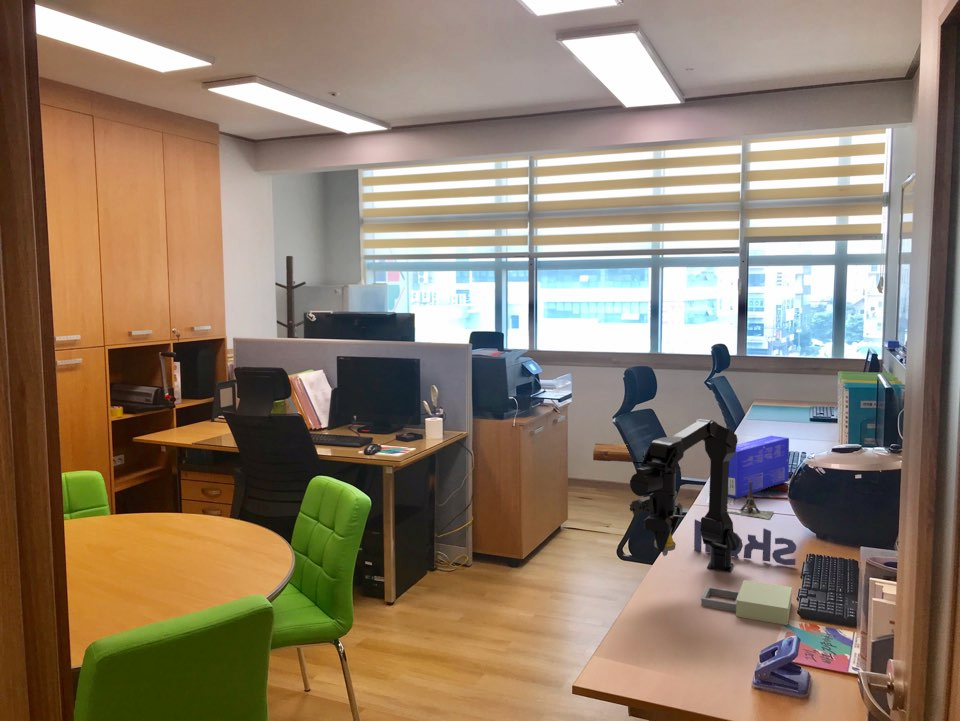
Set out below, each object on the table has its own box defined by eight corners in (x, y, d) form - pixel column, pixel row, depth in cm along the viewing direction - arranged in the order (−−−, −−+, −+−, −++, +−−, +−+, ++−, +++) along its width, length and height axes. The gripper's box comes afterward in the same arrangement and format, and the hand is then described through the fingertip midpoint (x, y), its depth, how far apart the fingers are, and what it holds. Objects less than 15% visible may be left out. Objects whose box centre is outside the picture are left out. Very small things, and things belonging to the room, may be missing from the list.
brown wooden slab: (593, 463, 343) (593, 451, 342) (595, 455, 361) (595, 443, 360) (644, 465, 338) (644, 453, 338) (643, 457, 356) (643, 445, 356)
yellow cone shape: (671, 551, 196) (674, 516, 194) (676, 561, 191) (680, 525, 189) (650, 551, 196) (653, 515, 194) (656, 561, 191) (659, 524, 189)
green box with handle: (708, 589, 195) (709, 574, 194) (791, 602, 186) (791, 587, 186) (699, 609, 182) (699, 593, 182) (787, 625, 173) (787, 608, 173)
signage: (795, 566, 211) (796, 532, 210) (795, 567, 211) (796, 532, 210) (694, 551, 224) (695, 519, 223) (693, 552, 224) (694, 519, 223)
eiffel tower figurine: (724, 514, 263) (725, 477, 262) (730, 507, 272) (730, 471, 270) (769, 520, 255) (770, 482, 254) (773, 512, 264) (774, 475, 263)
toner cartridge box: (770, 478, 312) (771, 435, 310) (789, 482, 305) (790, 437, 304) (717, 494, 287) (718, 447, 285) (736, 499, 281) (737, 451, 279)
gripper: (641, 477, 204) (641, 533, 205) (623, 494, 187) (623, 555, 188) (683, 482, 199) (682, 539, 200) (668, 499, 182) (667, 561, 183)
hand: (663, 548), depth 193 cm, fingers closed on yellow cone shape, 5 cm apart
